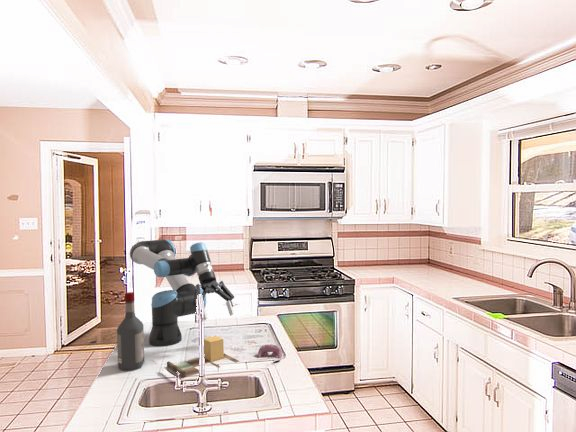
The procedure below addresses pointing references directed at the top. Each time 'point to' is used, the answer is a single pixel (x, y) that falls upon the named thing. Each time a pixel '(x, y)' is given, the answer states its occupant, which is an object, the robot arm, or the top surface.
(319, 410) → the top surface
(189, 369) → the trap box
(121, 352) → the liquor
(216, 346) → the ochre block
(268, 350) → the pink arch block
